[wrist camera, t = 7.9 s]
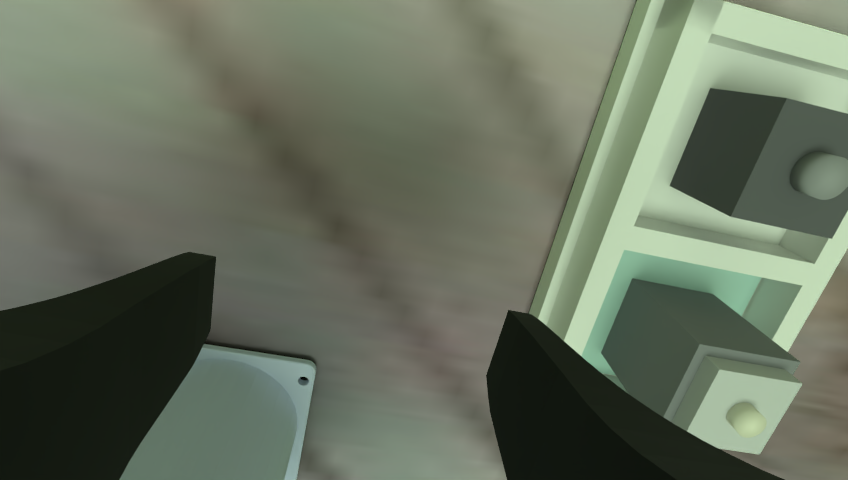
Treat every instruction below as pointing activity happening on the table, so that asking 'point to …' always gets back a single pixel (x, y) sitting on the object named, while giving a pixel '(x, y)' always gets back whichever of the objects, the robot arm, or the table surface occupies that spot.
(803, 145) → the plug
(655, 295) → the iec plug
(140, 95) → the table surface
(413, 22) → the table surface
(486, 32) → the table surface
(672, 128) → the pale green compartment tray
